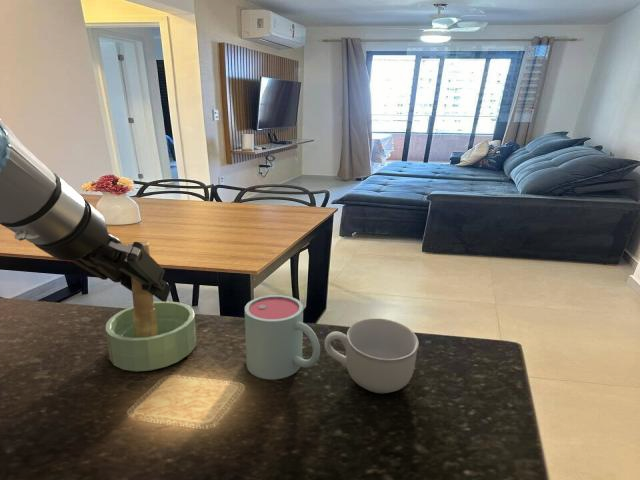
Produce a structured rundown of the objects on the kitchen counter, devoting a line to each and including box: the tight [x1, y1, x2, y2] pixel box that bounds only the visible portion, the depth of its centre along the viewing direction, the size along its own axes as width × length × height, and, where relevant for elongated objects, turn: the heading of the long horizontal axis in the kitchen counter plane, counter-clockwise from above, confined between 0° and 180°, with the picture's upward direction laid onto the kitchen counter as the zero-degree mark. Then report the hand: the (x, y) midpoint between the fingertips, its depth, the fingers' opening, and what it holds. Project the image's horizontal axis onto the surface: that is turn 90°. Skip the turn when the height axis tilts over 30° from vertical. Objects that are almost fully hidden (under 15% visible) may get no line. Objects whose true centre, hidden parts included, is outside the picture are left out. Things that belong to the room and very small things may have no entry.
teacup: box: [324, 317, 420, 394], centre depth 59 cm, size 14×11×8 cm
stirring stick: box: [127, 240, 158, 338], centre depth 62 cm, size 4×3×16 cm
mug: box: [244, 294, 321, 380], centre depth 61 cm, size 14×9×10 cm
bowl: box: [105, 300, 197, 372], centre depth 65 cm, size 14×14×6 cm
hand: (157, 292), depth 65 cm, fingers closed on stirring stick, 3 cm apart
